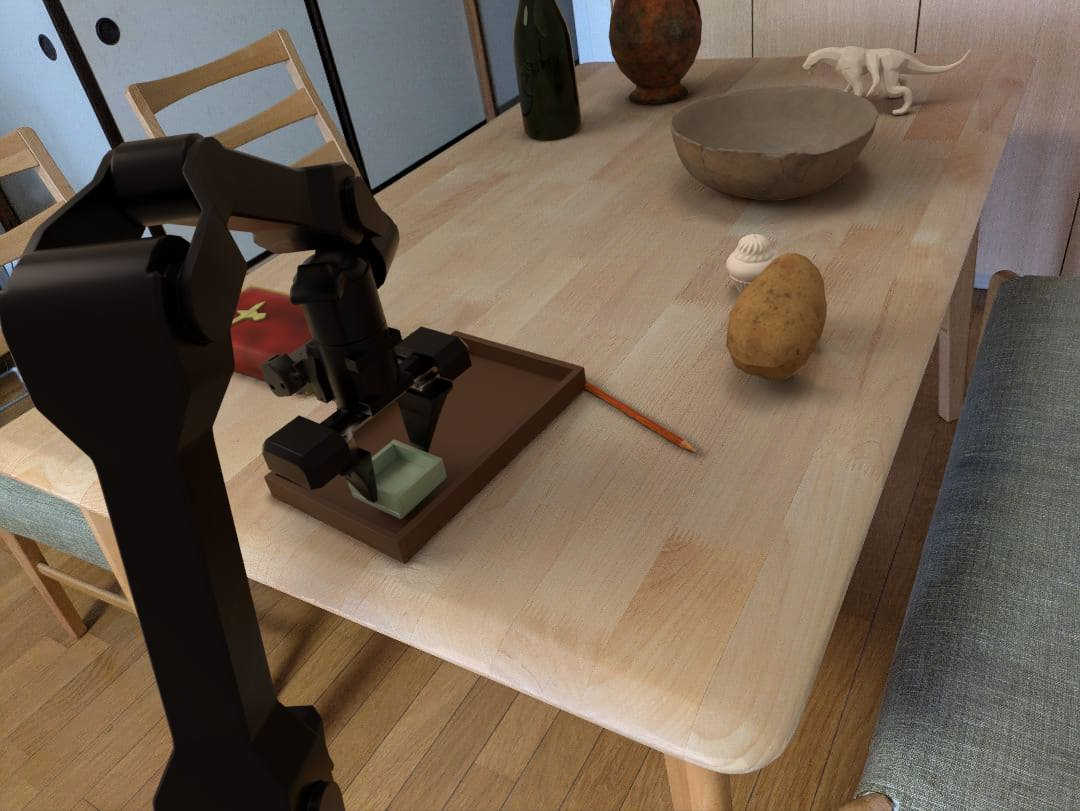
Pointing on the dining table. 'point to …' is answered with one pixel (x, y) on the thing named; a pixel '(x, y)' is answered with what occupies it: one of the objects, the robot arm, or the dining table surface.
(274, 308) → the book
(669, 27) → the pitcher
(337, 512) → the tray
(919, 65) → the white dinosaur figurine
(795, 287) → the potato
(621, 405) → the pencil
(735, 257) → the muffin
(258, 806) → the robot arm
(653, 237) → the dining table surface
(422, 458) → the celadon dish
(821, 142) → the bowl
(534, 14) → the beer bottle
